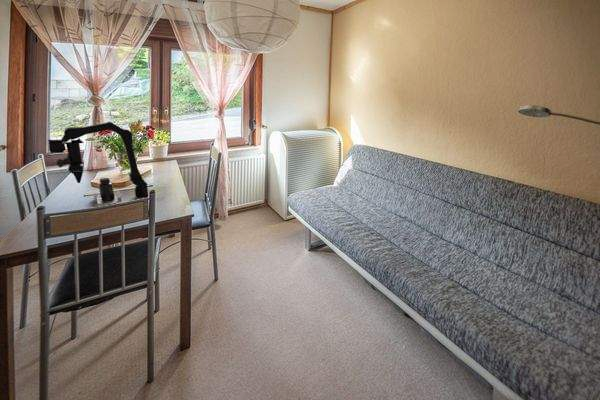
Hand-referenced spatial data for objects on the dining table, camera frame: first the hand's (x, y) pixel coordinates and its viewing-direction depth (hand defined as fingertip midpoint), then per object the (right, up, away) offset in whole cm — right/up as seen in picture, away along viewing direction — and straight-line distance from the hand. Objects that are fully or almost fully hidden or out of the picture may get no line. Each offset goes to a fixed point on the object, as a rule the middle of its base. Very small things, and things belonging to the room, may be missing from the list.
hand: (79, 180), depth 182 cm
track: (+10, -11, +10) cm, 18 cm away
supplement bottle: (+10, -10, +10) cm, 17 cm away
